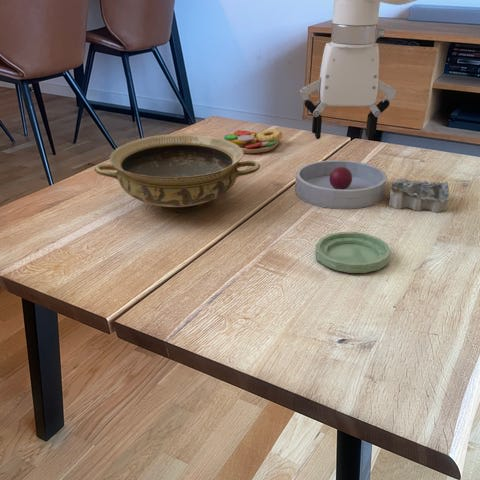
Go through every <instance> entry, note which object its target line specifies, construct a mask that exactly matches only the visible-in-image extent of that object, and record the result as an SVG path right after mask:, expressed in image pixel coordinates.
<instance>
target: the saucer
mask: <svg viewBox="0 0 480 480" xmlns="http://www.w3.org/2000/svg"><path fill="white" fill-rule="evenodd" d="M391 252H392V250H391V248H390V246H389V244H388V243H387V242H386V241H384V239H381V238H380V237H378V236H374V235H371V234H369V233H365V232H364V233H363V232H357V231H339V232H335V233H329V234H327V235H325V236H323V237H321V238H320V239H319V240H318V241H317V242H316V244H315V256H316V260H317V261H319V263H321V264H322V265H323V266H325V267H327V268H330V269H333V270H335V271H339V272H343V273H349V274H359V273H360V274H365V273H370V272H374V271H375V272H376V271H379V270H381V269H382V268H384V267H386V266H387V265H388V263H389V261H390V258H391Z"/></svg>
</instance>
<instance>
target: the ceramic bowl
mask: <svg viewBox="0 0 480 480" xmlns="http://www.w3.org/2000/svg"><path fill="white" fill-rule="evenodd" d="M244 156H245V153H243V151H242V149H241V148H240V147H239V146H238V145H236V144H234V143H232V142H230V141H227V140H224V138H220V137H216V136H211V135H204V134H203V135H202V134H191V133H190V134H189V133H188V134H187V133H175V134H174V133H172V134H171V133H170V134H161V135H160V134H159V135H153V136H152V135H151V136H146V137H142V138H139V139H135V140H132V141H129V142H127V143H124V144H122V145H120V146H118V147H117V148H115V149H114V150H113V151H112V152H111V154H110V155H109V162H110V164H105V163H103V164H97V165H95V166H94V171H95V173H96V174H98V175H99V176H102V177H107V178H111V179H115V180H116V181H118V183H119V185H120V187H121V188H122V189H123V191H124V192H126V193H127V195H129V196H130V197H131V198H133V199H135V200H138V201H140V202H143V203H145V204H148V205H152V206H157V207H159V209H161V210H163V211H165V212H168V211H169V212H168V213H174V212H181V213H187V212H186V211H188V212H192V211H195V210H196V208H197V209H198V208H200V207H201V206H202V204H205V203H208V202H211V201H214V200H215V199H217V198H220V197H221V196H223V195H224V194H226V193H227V192H228V191H229V190H231V188H233V186H234V184H235V183H236V180H237V179H239V177H243V176H248V175H251V174H254V173H256V172H257V171H259V170H260V168H261V164H260V163H259V162H258V161H255V160H246V161H241V160H242V158H243V157H244ZM243 167H250V168H248V169H243V170H238V169H239V168H243ZM112 171H115V172H112ZM194 209H195V210H194ZM191 210H192V211H191Z"/></svg>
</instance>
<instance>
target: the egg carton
mask: <svg viewBox="0 0 480 480" xmlns="http://www.w3.org/2000/svg"><path fill="white" fill-rule="evenodd" d="M388 194H389V201H388V206H389V207H393V208H394V209H397V210H401V209H403V208H409V209H412V210H413V211H421V210H430V211H431V212H432V213H440V212H442V211H445V210H446V208H447V204H448V201H449V200H450V187H449V181H444V182H433V181H431V182H428V181H427V180H423V181H419V180H413V181H412V180H409V179H406V178H398V179H396V180H393V181H392V182H390V188H389V190H388Z"/></svg>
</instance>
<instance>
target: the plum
mask: <svg viewBox="0 0 480 480" xmlns="http://www.w3.org/2000/svg"><path fill="white" fill-rule="evenodd" d="M329 181H330V184H331V186H332V187H333V188H335V189H340V190H344V189H346V188H348V187H349V186H350V184H351V182H352V174H351V172H350V171H349V170H348V169H347V168H345V167H338V168H335V169H334V170H333V171H332V172H331V174H330V177H329Z"/></svg>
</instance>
